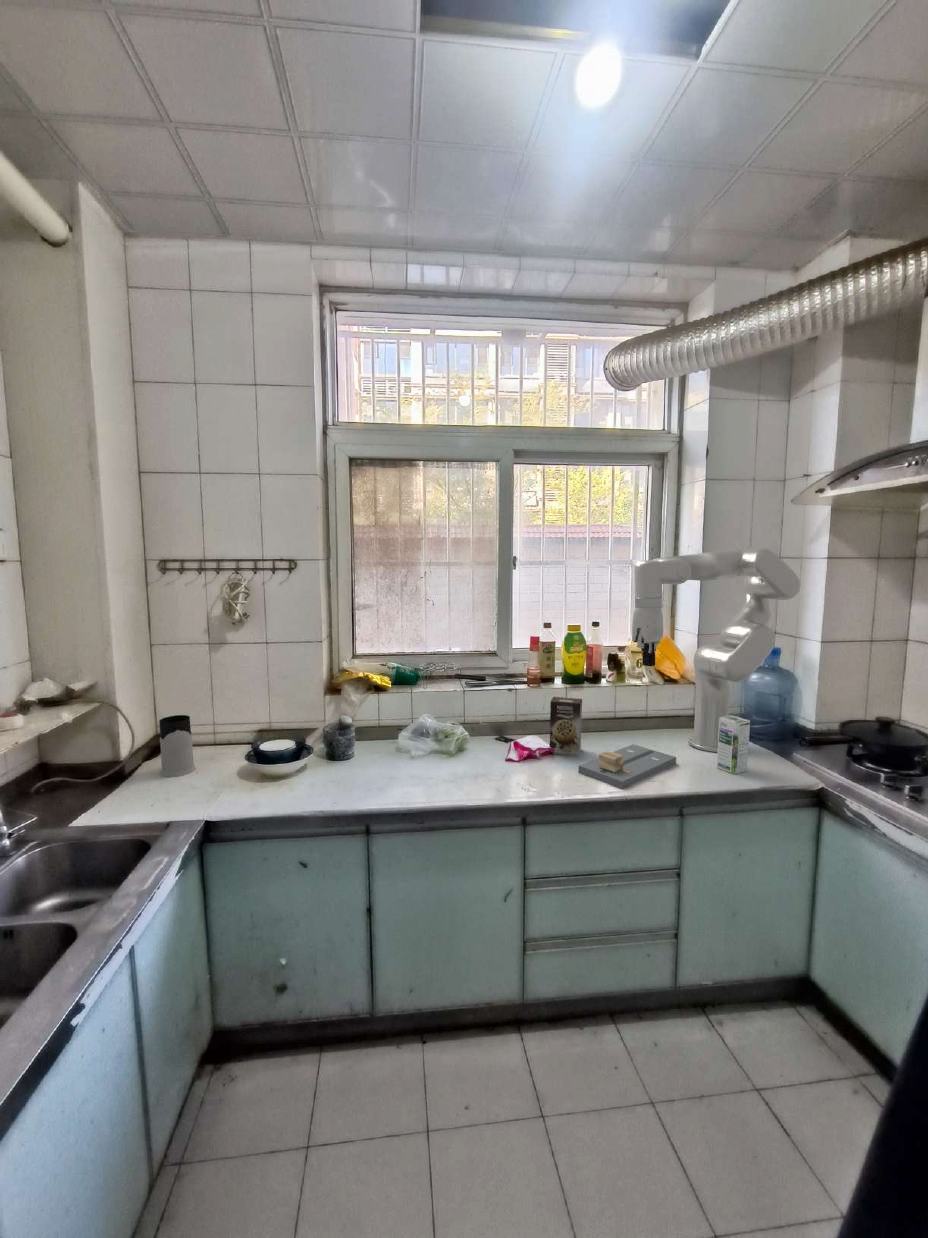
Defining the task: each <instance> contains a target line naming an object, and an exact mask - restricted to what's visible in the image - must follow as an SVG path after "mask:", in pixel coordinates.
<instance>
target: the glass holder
mask: <svg viewBox="0 0 928 1238" xmlns="http://www.w3.org/2000/svg"><path fill="white" fill-rule="evenodd" d="M191 729H192V728H191V717H190V715H186V714H178V715H176V714H175V715H169V716H165V717H162V718H161V719H159V733H160V734H159V735H160V736H159V743H160V760H161V771H160V776H161V777H162V778H163V777H164V778H176V777H181V776H185V775H188V774H191V773H193V772H194V771H195V770H196V766H195V764H194V763H195V762H194V750H193V749H194V748H193V735H192V730H191Z"/></svg>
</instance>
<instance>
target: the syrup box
mask: <svg viewBox="0 0 928 1238" xmlns="http://www.w3.org/2000/svg"><path fill="white" fill-rule="evenodd" d="M750 728H751V720H750V719H746V718H742V717H739V716H735V715H730V714H729V716H723V717H721V718H719V733H718V752H716V754H717V757H716V758H717V759H716V768H717V769H719V770H723V771H725V772H727V773H730V774H732V775H736V774H741V773H743V772H746V771H748V761H749V747H750V745H749V744H750V742H749V741H750Z"/></svg>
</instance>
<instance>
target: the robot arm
mask: <svg viewBox="0 0 928 1238" xmlns="http://www.w3.org/2000/svg"><path fill="white" fill-rule="evenodd" d="M739 577H741V578H742V577H745V579H744V581H743V595H744V602H743V606H742V608H741V609H740V610H739V611H738V612H737V613H736V615H735V616H734V617H732V619H730V621H729V622H728V623H727V624H726V626H725V627H723V628H722V630H721V632H720V634H719V639H718V640H719V644H721V645H718V644H705V645H701V646H700V647H698V648H697V650H696V651H695V653H694V655H693V669H694V674H695V699H694V700H695V701H694V702H695V704H694V723H693V725H694V727H693V735H692V736H690V737H689V738H688V744H689V745H690V746H691V747H693V748H695V749H697V750H701V751H705V752H714V753H718V733H719V718H721V717H723V716H730V695H731V693H730V691H731V690H730V685H729V682H732V683H733V682H734V683H741V682H743V681H745V680H747V679H748V678H749V677H750V676H751V675H753V673H754V672H755V671H756V670H757V669H758V668H759V667H760V666H761V665H762V663H763V662H764V661H765V660H766V659H767V658H768V656H769V655H770V654H771V652H772V651H773V649H774V648H775V645H776V644H775V643H776V634H775V632H774V630H773V628H771V627H770V626H768V625H767V624H768V623H769V622H770V620H771V613H772V612H771V608H770V603H769V599H770V600H780V601H788V600H791V599H793V598H795V597H796V596H798V594H799V593H800V590H801V580H800V577H799V576H798V574H797V573H796V572H795V571H794V570H793V569H792V568H791V567H790V566H789V565H788V564H787V563H786V561H784V560H783V559H782V558H781V557H780V556H779V555H778V554H777V553H775V552H773V551H772V550H770V549H768V548H766V547H754V548H753V547H752V548H751V547H749V548H748V547H746V548H745V547H744V548H733V549H726V550H725V549H724V550H716V551H707V552H699V553H692V554H684V555H676V556H673V555H672V556H666V557H658V558H657V557H656V558H654V559H650V560H638V561H637V562H635V564H634V610H633V615H632V624H631V625H632V628H631V641H632V642H633V643H636V648H637V649H638V648H639V649H640V651H641V654H642V660H641V661H642V666H645V667H654V666H656V652H657V646H658V645H659V644H660V643H661V640H662V639H663V637H664V617H663V610H662V609H663V585H681V584H685V583H686V582H687V581H699V582H703V581H704V582H705V581H717V580H718V581H719V580H724V579H732V578H733V579H734V578H739Z"/></svg>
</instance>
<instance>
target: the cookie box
mask: <svg viewBox="0 0 928 1238" xmlns="http://www.w3.org/2000/svg"><path fill="white" fill-rule="evenodd" d="M549 708H550V710H549V711H550V712H549V715H550V716H549V748H550V747H551V748H554V750H555V751H554V753H553V754H556V755H567V756H574V757H575V756H576V757H579V756H580V754H581V751H582V718H583V717H582V716H583V715H582V713H583V699H582V698H576V697H575V698H573V697H561V696H552V698H551V700H550V707H549Z"/></svg>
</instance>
